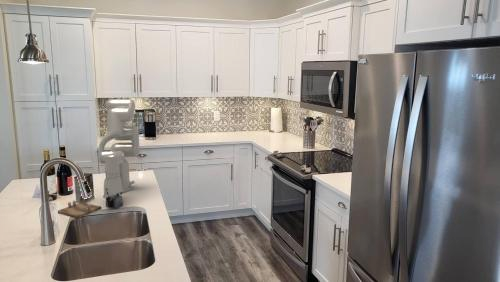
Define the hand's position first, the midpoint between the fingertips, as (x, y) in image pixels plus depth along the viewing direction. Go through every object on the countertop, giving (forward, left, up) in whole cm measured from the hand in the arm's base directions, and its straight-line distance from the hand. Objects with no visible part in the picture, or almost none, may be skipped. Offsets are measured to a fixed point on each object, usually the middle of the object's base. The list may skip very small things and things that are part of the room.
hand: (114, 205), depth 213 cm
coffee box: (+1, -23, -1) cm, 23 cm away
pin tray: (+14, -12, -1) cm, 19 cm away
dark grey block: (0, 0, -1) cm, 1 cm away
